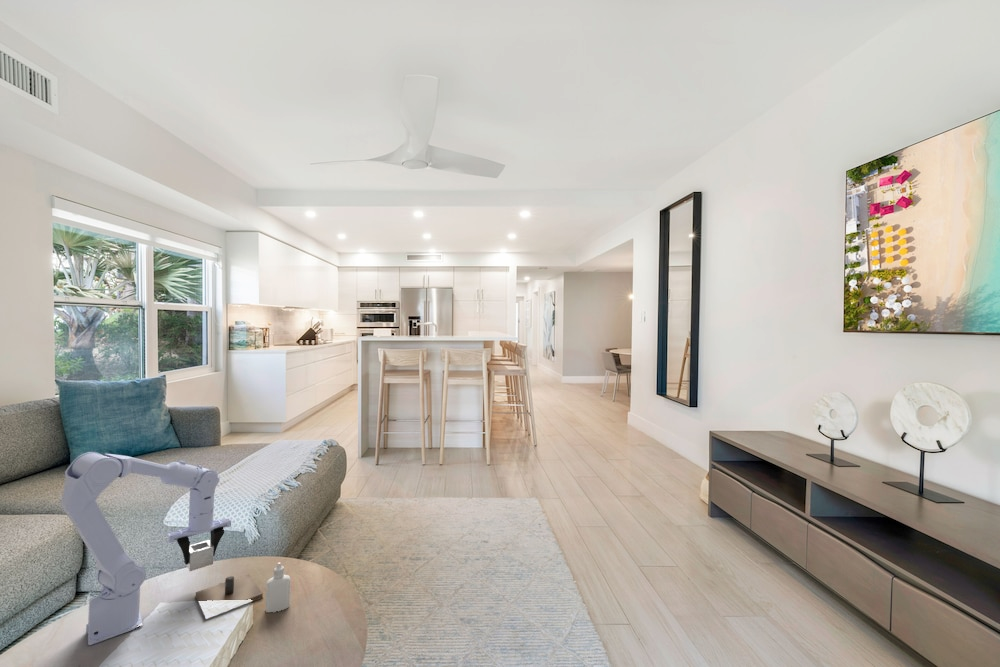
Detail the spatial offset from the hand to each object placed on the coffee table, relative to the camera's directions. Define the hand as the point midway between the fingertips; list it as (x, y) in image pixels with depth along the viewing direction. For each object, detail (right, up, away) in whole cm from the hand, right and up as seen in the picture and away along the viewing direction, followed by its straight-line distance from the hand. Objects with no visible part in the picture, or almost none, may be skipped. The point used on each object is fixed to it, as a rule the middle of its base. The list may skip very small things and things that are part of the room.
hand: (199, 558), depth 117 cm
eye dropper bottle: (+26, -9, -8) cm, 29 cm away
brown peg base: (+11, -9, -4) cm, 14 cm away
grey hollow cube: (0, -1, 0) cm, 1 cm away
